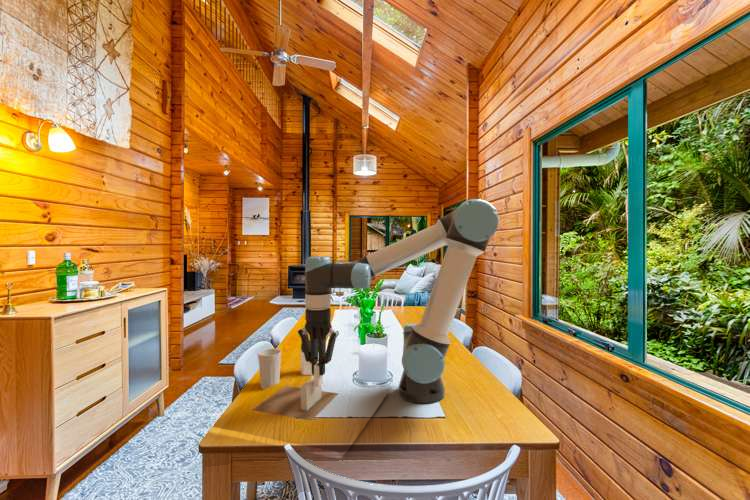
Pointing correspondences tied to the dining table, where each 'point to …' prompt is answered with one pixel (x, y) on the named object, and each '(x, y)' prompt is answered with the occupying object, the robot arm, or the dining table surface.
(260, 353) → the cup
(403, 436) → the dining table surface
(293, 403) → the board
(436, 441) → the dining table surface
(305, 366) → the jar
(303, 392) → the tile
